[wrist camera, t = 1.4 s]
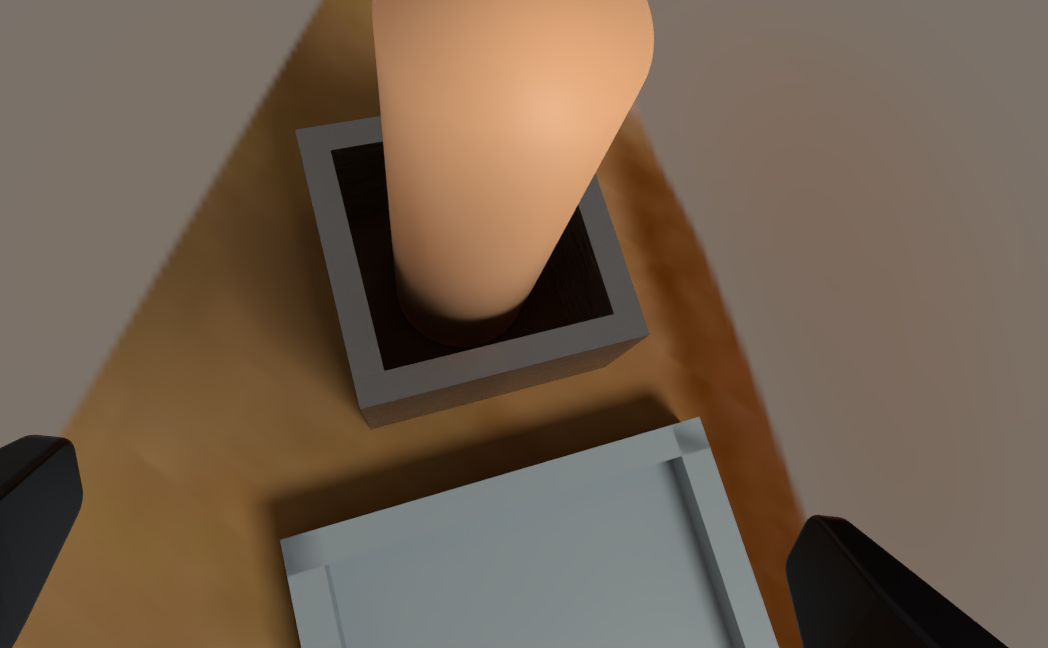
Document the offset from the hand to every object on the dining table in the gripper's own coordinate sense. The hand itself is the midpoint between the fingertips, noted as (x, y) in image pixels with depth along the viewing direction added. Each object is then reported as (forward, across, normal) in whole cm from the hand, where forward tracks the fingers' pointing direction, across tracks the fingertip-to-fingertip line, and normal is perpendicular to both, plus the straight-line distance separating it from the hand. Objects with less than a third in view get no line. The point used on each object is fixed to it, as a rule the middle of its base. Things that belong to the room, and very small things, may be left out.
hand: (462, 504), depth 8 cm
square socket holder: (+14, 0, +4) cm, 15 cm away
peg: (+14, 0, +4) cm, 15 cm away
